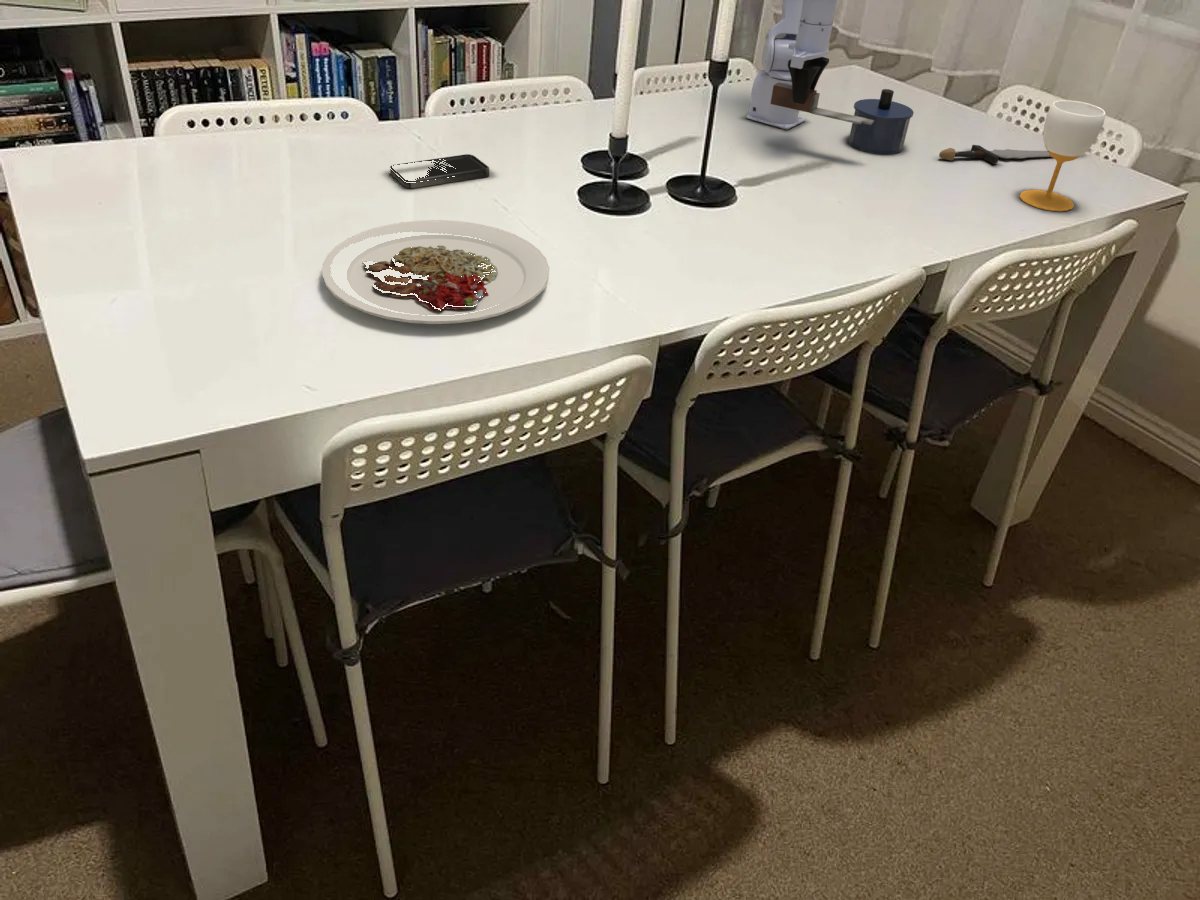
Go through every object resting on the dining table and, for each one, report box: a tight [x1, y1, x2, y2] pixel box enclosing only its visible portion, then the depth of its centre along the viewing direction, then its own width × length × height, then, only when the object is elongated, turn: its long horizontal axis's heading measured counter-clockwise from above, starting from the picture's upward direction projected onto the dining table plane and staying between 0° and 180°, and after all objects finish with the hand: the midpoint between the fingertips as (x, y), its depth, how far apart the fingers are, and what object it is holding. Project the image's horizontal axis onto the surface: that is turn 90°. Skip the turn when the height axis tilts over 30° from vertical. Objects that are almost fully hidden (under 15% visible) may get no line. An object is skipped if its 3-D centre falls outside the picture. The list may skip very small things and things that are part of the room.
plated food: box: [321, 219, 550, 325], centre depth 132 cm, size 30×30×3 cm
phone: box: [389, 153, 490, 189], centre depth 163 cm, size 8×1×15 cm
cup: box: [1019, 99, 1107, 212], centre depth 167 cm, size 9×9×16 cm
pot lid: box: [853, 88, 915, 120], centre depth 185 cm, size 11×11×4 cm
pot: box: [848, 109, 911, 155], centre depth 188 cm, size 10×10×6 cm
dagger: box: [938, 144, 1052, 165], centre depth 188 cm, size 8×32×2 cm, turn 98°
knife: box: [770, 82, 874, 125], centre depth 178 cm, size 19×3×3 cm, turn 61°
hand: (801, 100), depth 179 cm, fingers closed on knife, 2 cm apart
